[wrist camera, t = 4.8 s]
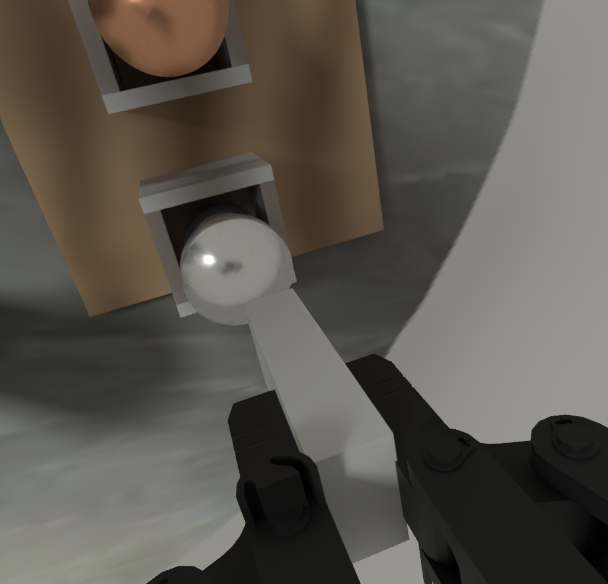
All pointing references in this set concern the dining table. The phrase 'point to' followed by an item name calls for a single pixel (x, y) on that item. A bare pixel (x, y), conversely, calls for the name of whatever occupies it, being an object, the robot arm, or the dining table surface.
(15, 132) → the panel
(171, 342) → the dining table surface
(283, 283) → the offwhite plunger
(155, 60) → the copper domed cylinder
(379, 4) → the dining table surface
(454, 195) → the dining table surface
